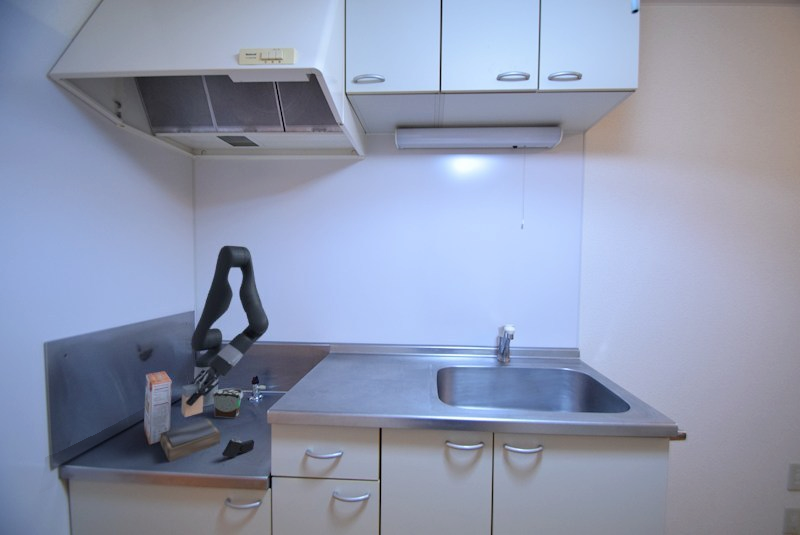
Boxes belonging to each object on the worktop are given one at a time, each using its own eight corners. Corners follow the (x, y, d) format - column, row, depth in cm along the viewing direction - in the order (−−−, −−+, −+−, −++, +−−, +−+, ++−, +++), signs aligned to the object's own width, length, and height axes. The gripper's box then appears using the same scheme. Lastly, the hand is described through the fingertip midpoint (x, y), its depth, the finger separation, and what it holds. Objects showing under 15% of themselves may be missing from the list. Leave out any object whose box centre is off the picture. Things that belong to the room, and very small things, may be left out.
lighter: (244, 457, 98) (254, 439, 100) (247, 459, 96) (257, 441, 99) (220, 452, 92) (232, 433, 95) (223, 455, 91) (234, 436, 93)
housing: (181, 412, 100) (182, 386, 101) (198, 407, 104) (199, 382, 104) (185, 417, 97) (186, 390, 97) (202, 412, 101) (203, 386, 101)
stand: (160, 443, 100) (160, 431, 100) (207, 428, 110) (207, 417, 110) (169, 461, 90) (170, 448, 90) (219, 443, 101) (220, 431, 101)
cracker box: (142, 430, 107) (145, 373, 108) (163, 424, 112) (165, 370, 112) (147, 446, 98) (150, 384, 98) (169, 439, 102) (172, 379, 103)
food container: (248, 411, 124) (249, 388, 124) (239, 418, 118) (240, 394, 118) (221, 409, 125) (222, 386, 126) (211, 416, 119) (212, 391, 119)
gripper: (212, 350, 111) (171, 390, 102) (225, 357, 102) (182, 403, 93) (226, 361, 115) (189, 401, 106) (240, 369, 106) (200, 414, 96)
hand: (186, 401), depth 99 cm, fingers closed on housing, 5 cm apart
